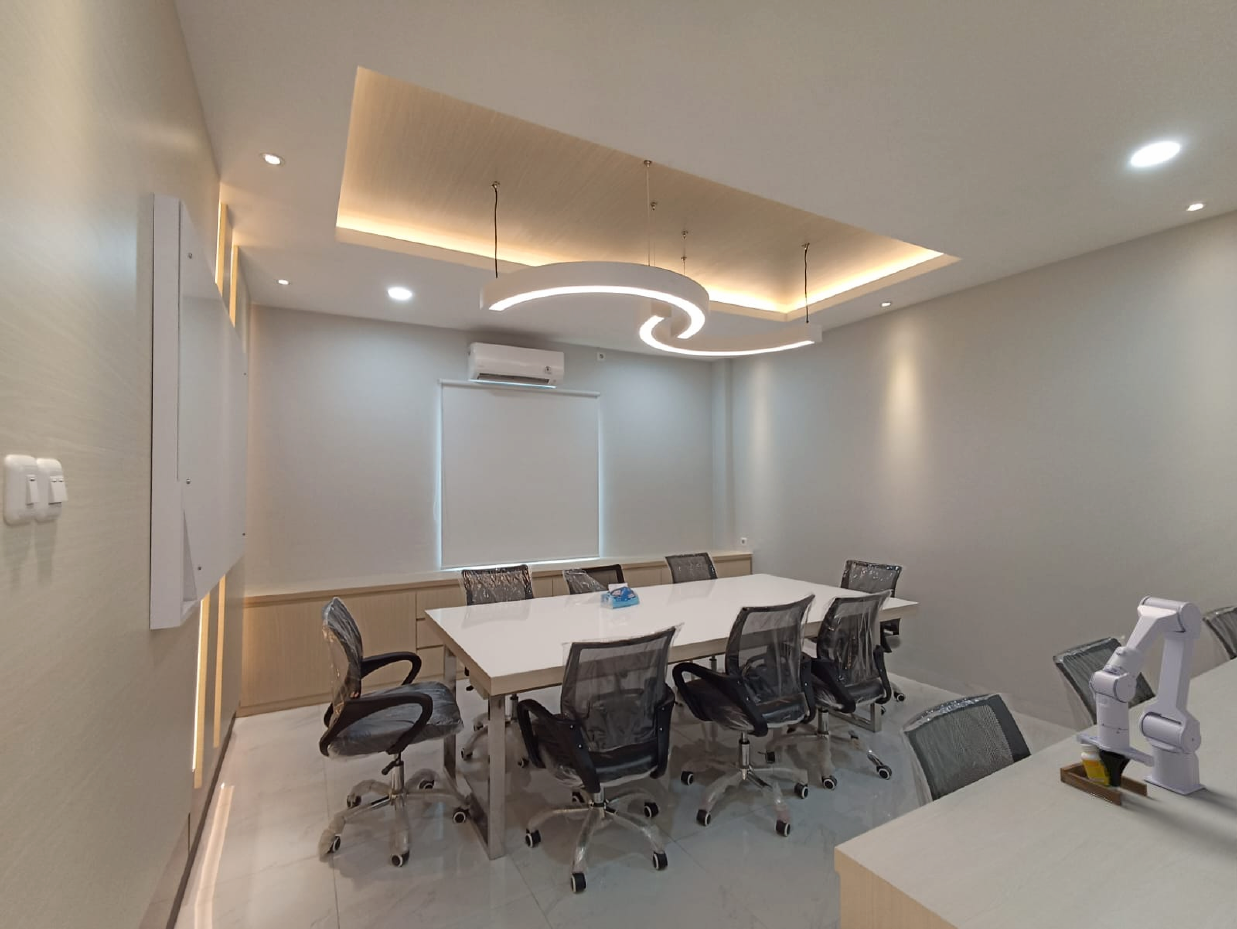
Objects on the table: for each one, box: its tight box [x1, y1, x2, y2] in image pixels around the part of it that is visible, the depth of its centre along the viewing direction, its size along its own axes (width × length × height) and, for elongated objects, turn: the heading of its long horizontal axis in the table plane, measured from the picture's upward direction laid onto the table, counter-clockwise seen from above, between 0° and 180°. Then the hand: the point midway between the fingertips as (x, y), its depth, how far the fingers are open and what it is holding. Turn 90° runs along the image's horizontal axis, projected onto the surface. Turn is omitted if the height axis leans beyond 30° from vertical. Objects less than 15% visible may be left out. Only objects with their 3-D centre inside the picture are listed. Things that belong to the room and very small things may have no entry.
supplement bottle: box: [1079, 742, 1120, 791], centre depth 135 cm, size 5×5×10 cm
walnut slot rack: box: [1059, 760, 1148, 806], centre depth 135 cm, size 11×12×3 cm
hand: (1114, 785), depth 132 cm, fingers closed, pressing on supplement bottle
